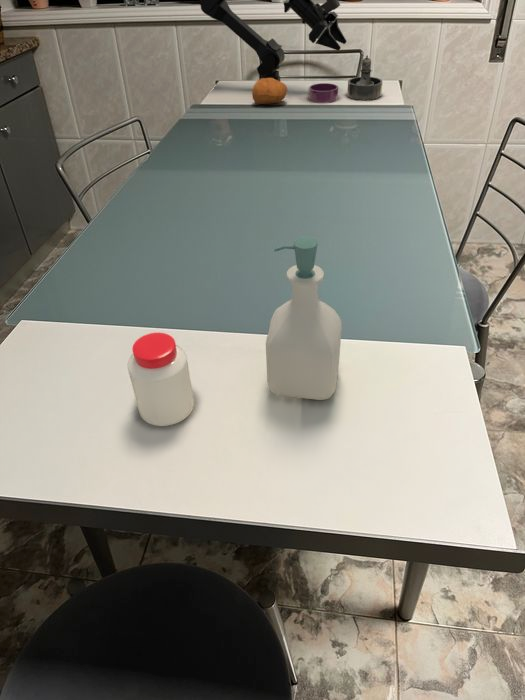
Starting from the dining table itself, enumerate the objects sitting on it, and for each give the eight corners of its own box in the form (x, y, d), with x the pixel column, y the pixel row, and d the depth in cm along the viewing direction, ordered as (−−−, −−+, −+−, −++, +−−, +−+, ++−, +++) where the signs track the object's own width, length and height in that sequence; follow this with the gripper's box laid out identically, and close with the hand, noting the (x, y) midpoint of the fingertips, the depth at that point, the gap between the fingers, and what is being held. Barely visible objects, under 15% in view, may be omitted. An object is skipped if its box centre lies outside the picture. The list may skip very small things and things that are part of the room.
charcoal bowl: (342, 98, 184) (343, 84, 181) (352, 89, 192) (353, 75, 189) (375, 101, 180) (377, 87, 177) (384, 92, 188) (386, 77, 185)
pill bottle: (198, 387, 80) (189, 327, 73) (188, 427, 74) (176, 366, 67) (146, 385, 81) (132, 326, 74) (132, 424, 75) (115, 364, 68)
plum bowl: (304, 101, 183) (304, 90, 181) (314, 93, 190) (314, 82, 188) (332, 103, 180) (332, 92, 178) (341, 95, 187) (342, 84, 185)
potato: (256, 98, 188) (255, 74, 183) (289, 99, 186) (289, 75, 181) (250, 107, 181) (249, 82, 176) (284, 107, 179) (284, 83, 174)
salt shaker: (353, 92, 188) (356, 53, 180) (370, 91, 188) (373, 52, 180) (357, 97, 183) (360, 57, 176) (374, 96, 184) (378, 56, 176)
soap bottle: (276, 356, 85) (273, 220, 70) (339, 362, 83) (349, 224, 69) (265, 400, 78) (258, 259, 63) (333, 407, 76) (342, 264, 62)
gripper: (315, -9, 163) (354, 30, 166) (329, -18, 176) (365, 18, 180) (292, 24, 170) (330, 61, 174) (308, 13, 184) (342, 47, 187)
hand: (342, 45), depth 178 cm, fingers open, 9 cm apart
